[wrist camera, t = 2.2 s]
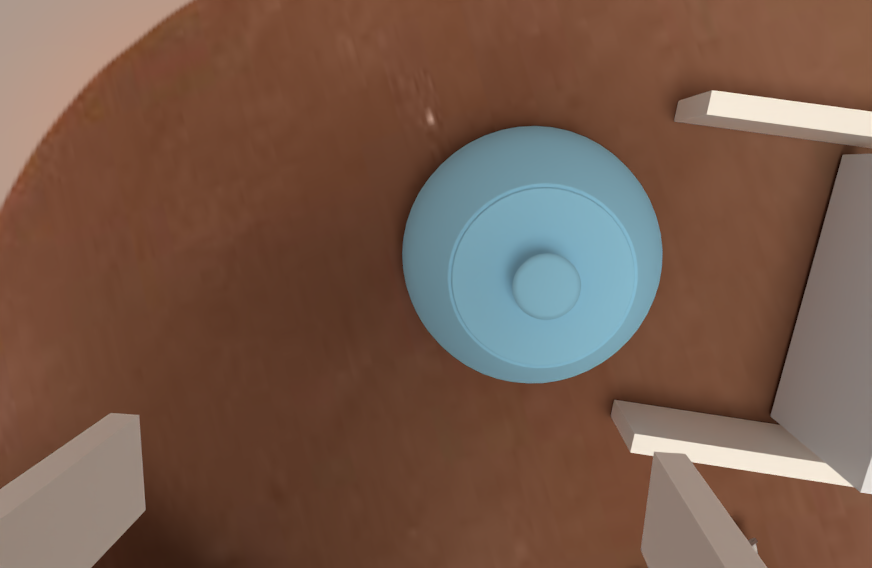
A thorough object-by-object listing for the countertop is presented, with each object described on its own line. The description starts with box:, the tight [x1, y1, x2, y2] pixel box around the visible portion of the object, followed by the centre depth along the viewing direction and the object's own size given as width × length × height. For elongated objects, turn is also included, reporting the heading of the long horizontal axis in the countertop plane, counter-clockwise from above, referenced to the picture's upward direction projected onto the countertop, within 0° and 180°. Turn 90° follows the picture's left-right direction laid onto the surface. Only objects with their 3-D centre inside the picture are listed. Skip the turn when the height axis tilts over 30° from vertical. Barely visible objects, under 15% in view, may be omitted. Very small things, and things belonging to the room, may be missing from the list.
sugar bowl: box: [402, 126, 662, 383], centre depth 31 cm, size 15×15×12 cm
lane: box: [611, 90, 872, 487], centre depth 34 cm, size 21×20×5 cm
